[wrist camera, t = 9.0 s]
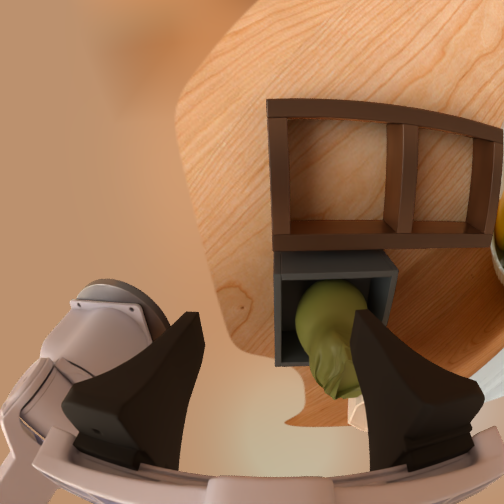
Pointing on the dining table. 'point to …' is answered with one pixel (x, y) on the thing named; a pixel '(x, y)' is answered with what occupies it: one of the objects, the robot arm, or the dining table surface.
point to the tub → (315, 269)
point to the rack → (397, 181)
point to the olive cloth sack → (330, 334)
